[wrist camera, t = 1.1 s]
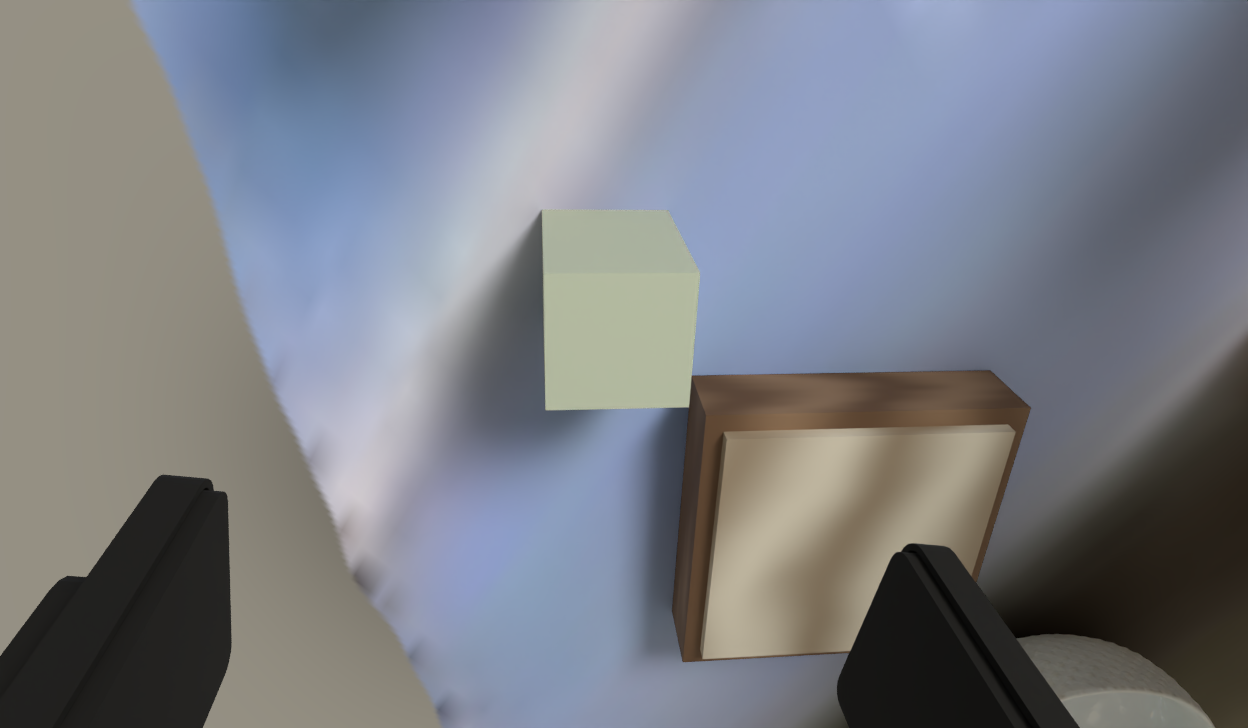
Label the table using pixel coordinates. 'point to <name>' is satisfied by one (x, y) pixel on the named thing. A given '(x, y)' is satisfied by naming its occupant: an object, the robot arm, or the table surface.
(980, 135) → the table surface
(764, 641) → the base
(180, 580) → the robot arm
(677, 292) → the block
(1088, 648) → the cereal bowl
